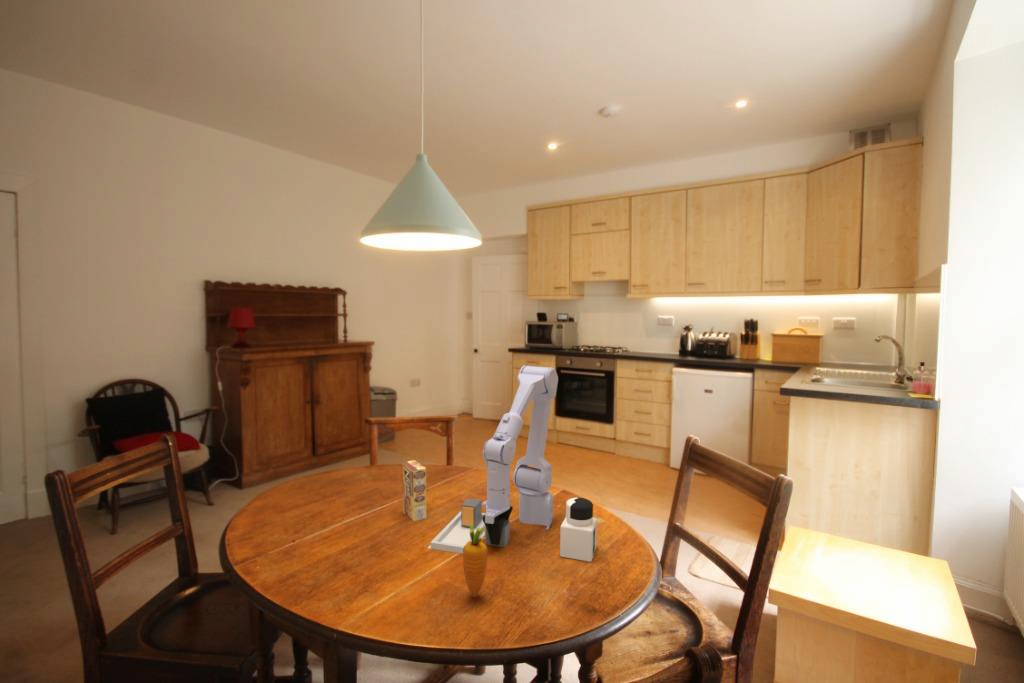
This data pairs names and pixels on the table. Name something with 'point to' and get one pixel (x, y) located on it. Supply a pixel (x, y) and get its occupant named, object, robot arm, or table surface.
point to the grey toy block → (471, 513)
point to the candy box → (414, 490)
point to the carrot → (475, 561)
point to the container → (578, 530)
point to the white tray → (455, 536)
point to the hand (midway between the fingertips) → (497, 539)
